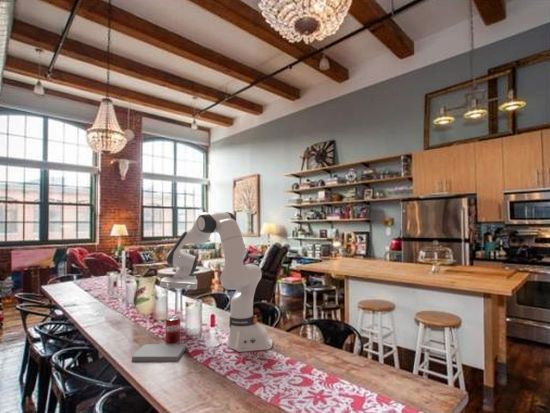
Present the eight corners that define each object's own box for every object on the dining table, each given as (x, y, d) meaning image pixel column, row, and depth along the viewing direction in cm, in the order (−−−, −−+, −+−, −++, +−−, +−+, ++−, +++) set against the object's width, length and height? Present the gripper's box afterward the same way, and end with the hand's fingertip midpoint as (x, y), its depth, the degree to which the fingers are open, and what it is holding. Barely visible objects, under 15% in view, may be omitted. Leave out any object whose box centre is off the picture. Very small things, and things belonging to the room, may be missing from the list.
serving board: (186, 348, 155) (186, 344, 155) (177, 361, 141) (177, 356, 141) (144, 348, 155) (144, 344, 155) (131, 361, 141) (132, 356, 141)
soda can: (164, 340, 165) (165, 316, 166) (179, 338, 168) (180, 315, 168) (165, 345, 159) (165, 321, 159) (180, 343, 161) (181, 319, 162)
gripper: (162, 273, 186) (157, 281, 172) (198, 276, 189) (196, 284, 176) (161, 283, 187) (156, 292, 173) (197, 286, 190) (195, 295, 176)
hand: (177, 288), depth 174 cm, fingers open, 8 cm apart
